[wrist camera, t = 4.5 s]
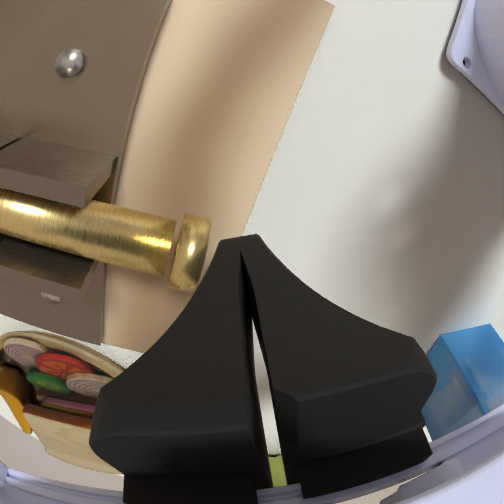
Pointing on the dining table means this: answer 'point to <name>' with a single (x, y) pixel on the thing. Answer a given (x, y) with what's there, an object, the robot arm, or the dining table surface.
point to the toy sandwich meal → (55, 392)
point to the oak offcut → (206, 135)
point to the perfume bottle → (464, 379)
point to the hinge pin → (110, 235)
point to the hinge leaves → (67, 139)
